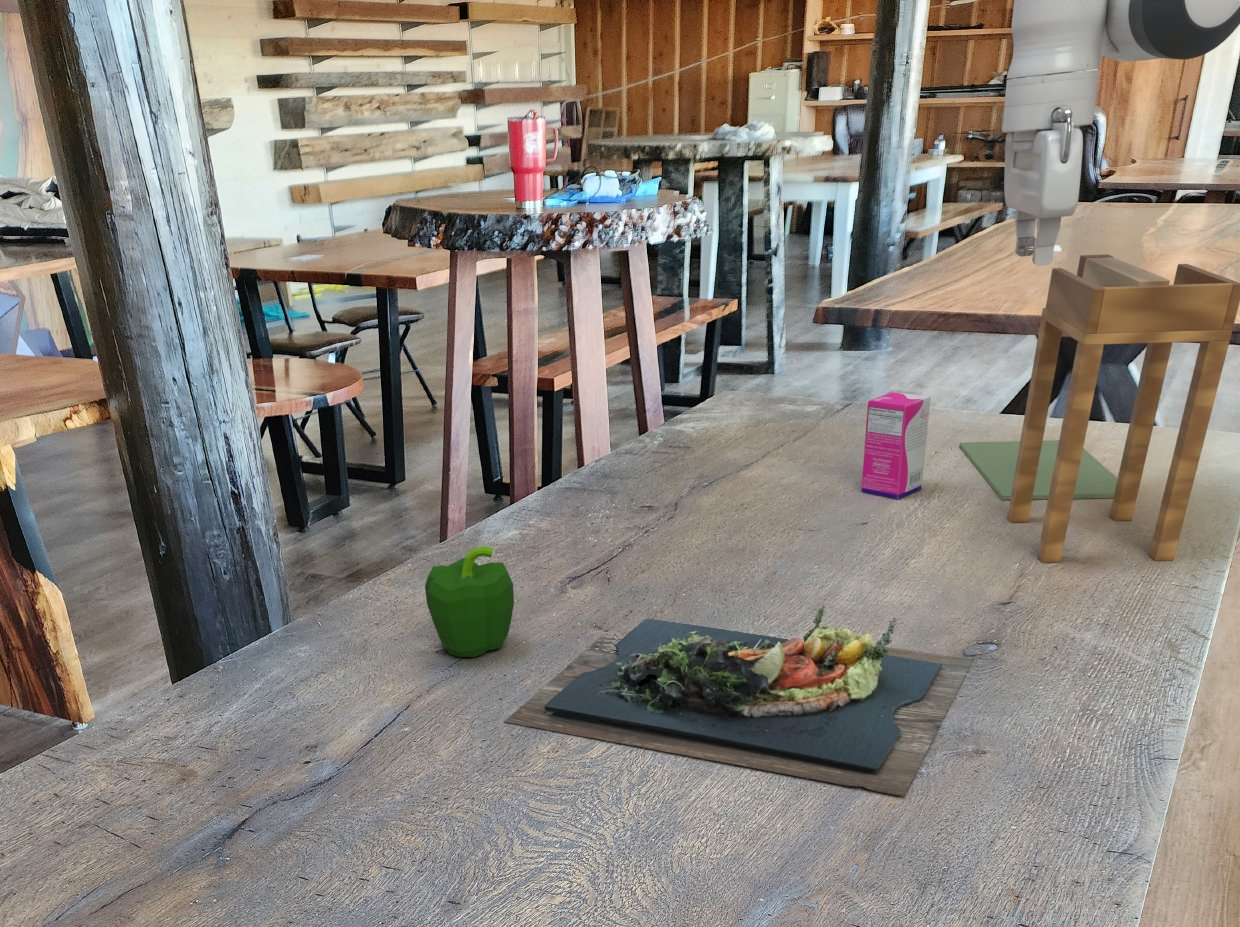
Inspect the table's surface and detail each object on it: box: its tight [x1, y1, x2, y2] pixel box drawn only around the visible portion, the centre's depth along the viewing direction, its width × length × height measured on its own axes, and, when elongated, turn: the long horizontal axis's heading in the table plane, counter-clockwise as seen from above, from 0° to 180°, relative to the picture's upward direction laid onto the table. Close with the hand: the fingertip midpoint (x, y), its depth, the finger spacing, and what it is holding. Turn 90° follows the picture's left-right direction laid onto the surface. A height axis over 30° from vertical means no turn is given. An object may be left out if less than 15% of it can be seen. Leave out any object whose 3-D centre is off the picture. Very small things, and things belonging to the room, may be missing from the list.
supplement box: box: [860, 391, 932, 500], centre depth 149 cm, size 6×6×12 cm
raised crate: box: [1006, 263, 1240, 563], centre depth 127 cm, size 14×16×27 cm
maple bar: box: [1076, 254, 1171, 287], centre depth 126 cm, size 3×20×4 cm, turn 176°
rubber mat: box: [959, 439, 1118, 501], centre depth 157 cm, size 16×26×1 cm, turn 176°
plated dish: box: [503, 604, 974, 797], centre depth 103 cm, size 35×28×7 cm
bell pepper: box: [424, 545, 515, 658], centre depth 112 cm, size 8×8×10 cm
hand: (1032, 259), depth 128 cm, fingers open, 8 cm apart
